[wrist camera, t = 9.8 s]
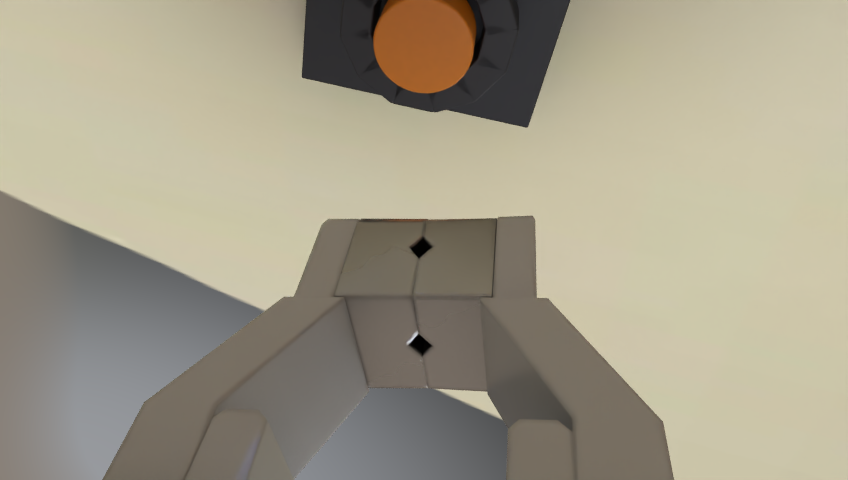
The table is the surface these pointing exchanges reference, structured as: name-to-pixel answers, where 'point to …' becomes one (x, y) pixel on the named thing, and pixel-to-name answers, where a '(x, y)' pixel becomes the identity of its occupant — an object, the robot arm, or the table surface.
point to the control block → (482, 83)
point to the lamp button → (425, 43)
